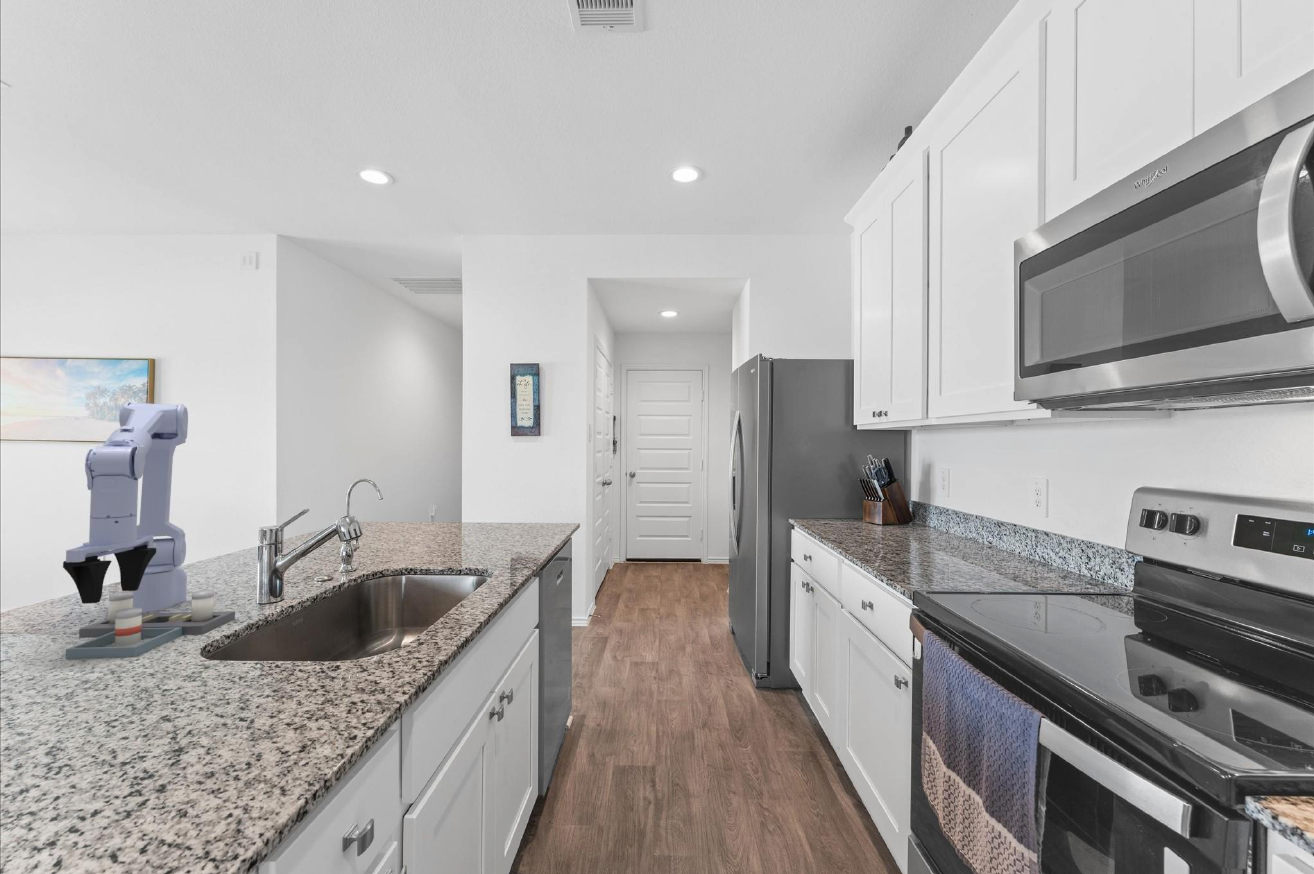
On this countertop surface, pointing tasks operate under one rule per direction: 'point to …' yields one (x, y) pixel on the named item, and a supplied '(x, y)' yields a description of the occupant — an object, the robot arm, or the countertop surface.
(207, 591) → the fuse
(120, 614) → the marked fuse
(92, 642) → the tray
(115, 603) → the fuse
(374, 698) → the countertop surface
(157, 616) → the fuse holder
